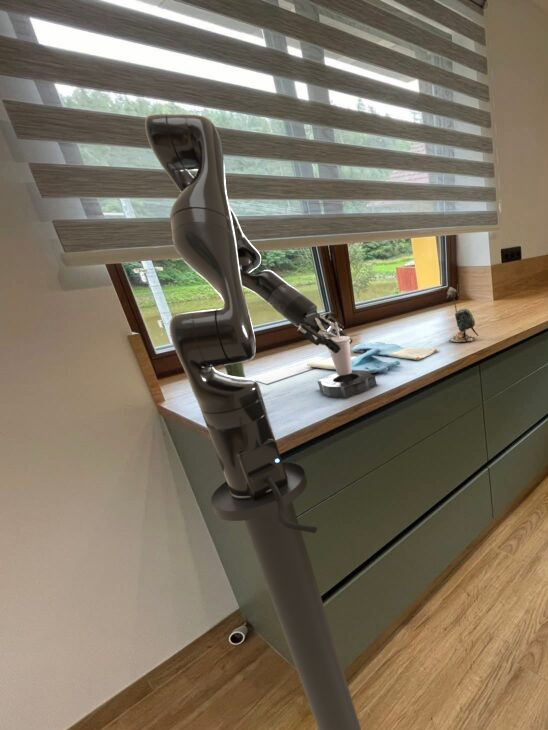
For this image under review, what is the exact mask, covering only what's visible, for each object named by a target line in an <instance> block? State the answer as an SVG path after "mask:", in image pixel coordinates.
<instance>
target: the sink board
mask: <svg viewBox="0 0 548 730" xmlns="http://www.w3.org/2000/svg"><path fill="white" fill-rule="evenodd" d="M376 378H377V377H376V375H374V374H372V373H370V372H368V371H364V370H352V372H351V373H350V374H347V375H338V374H337V372H336V373H333V374H331V375H328V376H325V377H324V378H321V379H318V380H317V385H318V389H319V391H320V392H322V393H323V394H324V396H326V397H329V398H344V399H348V398H350V397H352V396H355V395H359V394H361V393H364V392H366V391H368V390H370V389H372V388H375V387H377V385H378V384H377V380H376Z"/></svg>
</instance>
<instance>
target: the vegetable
mask: <svg viewBox="0 0 548 730" xmlns="http://www.w3.org/2000/svg"><path fill="white" fill-rule="evenodd" d="M223 366H224V368H225V371H226V375H230V376H235V377H242V378H247V377H246V375H245V370H244V362H241V363H236V364H229V365H223Z"/></svg>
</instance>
